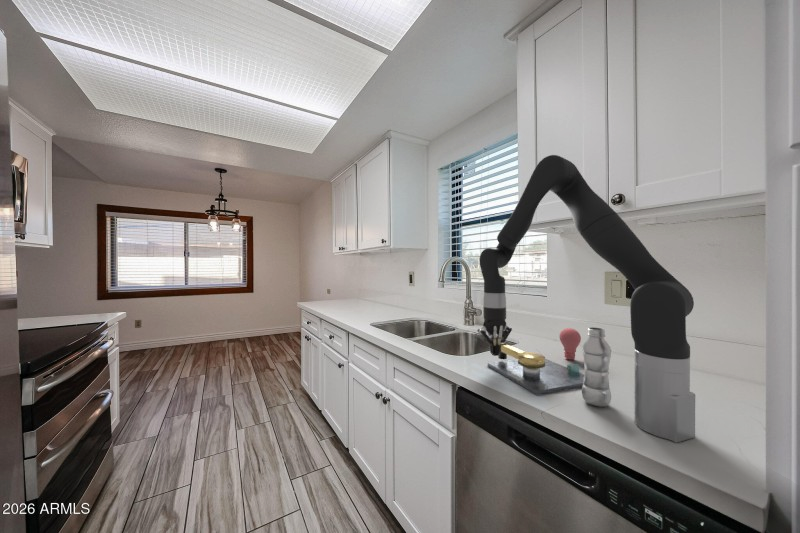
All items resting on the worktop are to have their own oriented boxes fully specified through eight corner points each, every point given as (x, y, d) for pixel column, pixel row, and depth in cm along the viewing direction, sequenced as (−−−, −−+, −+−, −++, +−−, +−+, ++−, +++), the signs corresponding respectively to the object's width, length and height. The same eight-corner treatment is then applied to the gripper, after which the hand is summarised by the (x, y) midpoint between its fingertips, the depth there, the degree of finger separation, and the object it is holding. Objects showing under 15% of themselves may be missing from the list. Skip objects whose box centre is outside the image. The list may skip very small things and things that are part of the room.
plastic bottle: (575, 400, 78) (575, 327, 78) (593, 396, 81) (593, 325, 80) (599, 412, 72) (599, 332, 72) (617, 407, 75) (617, 330, 74)
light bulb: (575, 356, 114) (574, 326, 114) (584, 362, 107) (584, 330, 107) (556, 356, 115) (556, 326, 115) (564, 362, 108) (564, 330, 108)
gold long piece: (551, 375, 90) (551, 357, 89) (530, 378, 87) (529, 360, 87) (508, 355, 109) (508, 341, 109) (490, 357, 106) (490, 343, 106)
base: (597, 384, 89) (597, 367, 89) (537, 395, 82) (537, 377, 82) (538, 359, 112) (538, 346, 111) (487, 366, 105) (487, 352, 105)
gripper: (484, 308, 95) (484, 360, 95) (517, 305, 99) (518, 356, 99) (472, 305, 102) (472, 353, 102) (503, 303, 106) (504, 350, 106)
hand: (495, 355), depth 100 cm, fingers closed
